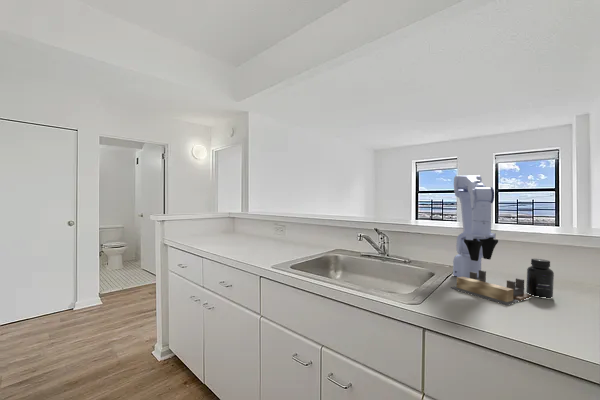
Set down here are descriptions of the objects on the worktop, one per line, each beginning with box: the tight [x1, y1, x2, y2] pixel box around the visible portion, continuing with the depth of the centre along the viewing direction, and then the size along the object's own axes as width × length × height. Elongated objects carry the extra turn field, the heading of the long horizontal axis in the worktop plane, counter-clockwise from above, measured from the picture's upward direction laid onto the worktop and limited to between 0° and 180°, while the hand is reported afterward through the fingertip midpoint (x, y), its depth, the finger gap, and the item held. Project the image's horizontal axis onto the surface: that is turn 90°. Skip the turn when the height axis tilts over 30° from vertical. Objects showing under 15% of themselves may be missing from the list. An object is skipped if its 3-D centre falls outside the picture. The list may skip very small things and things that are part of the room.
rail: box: [456, 277, 513, 302], centre depth 94 cm, size 16×4×4 cm, turn 28°
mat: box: [450, 285, 520, 306], centre depth 94 cm, size 18×7×1 cm, turn 28°
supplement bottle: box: [525, 258, 555, 298], centre depth 94 cm, size 7×7×12 cm
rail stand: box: [470, 269, 533, 302], centre depth 98 cm, size 18×7×6 cm, turn 28°
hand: (480, 259), depth 100 cm, fingers open, 7 cm apart
